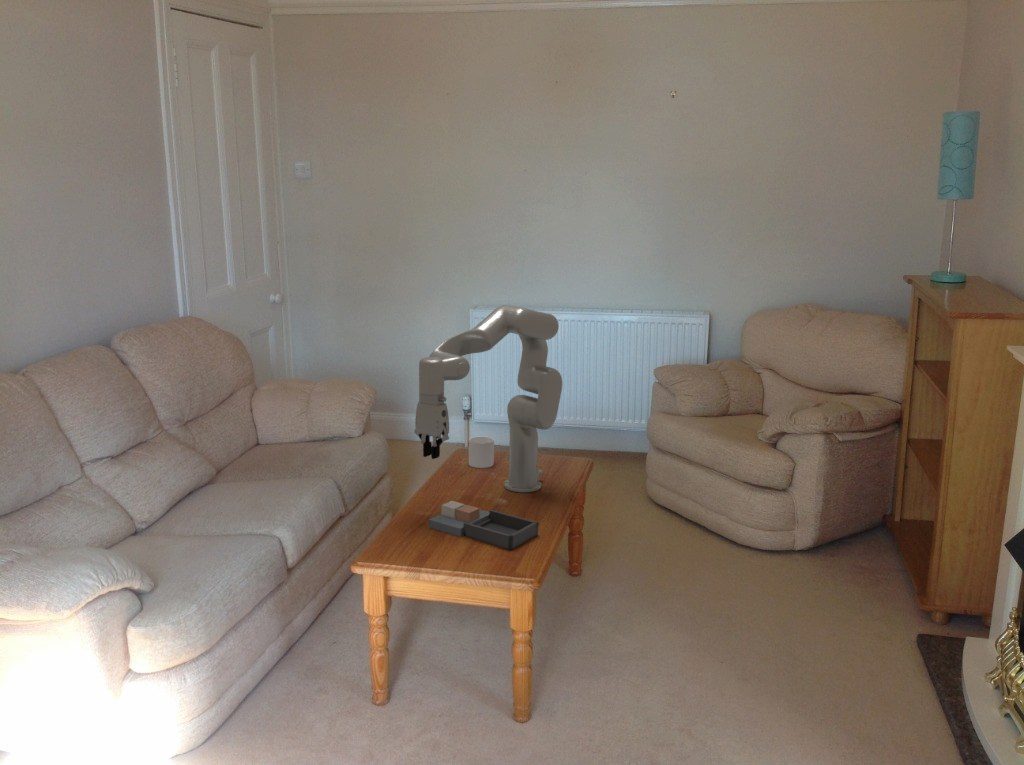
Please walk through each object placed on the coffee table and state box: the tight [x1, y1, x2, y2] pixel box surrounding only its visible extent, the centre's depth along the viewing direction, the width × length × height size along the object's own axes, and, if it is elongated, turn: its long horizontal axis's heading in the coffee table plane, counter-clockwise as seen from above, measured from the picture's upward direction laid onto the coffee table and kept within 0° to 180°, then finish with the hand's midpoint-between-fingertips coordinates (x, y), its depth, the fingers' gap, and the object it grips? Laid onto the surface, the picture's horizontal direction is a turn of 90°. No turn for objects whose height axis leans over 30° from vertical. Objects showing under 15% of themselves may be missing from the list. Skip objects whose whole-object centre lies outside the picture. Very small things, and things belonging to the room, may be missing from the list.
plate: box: [428, 509, 489, 537], centre depth 292 cm, size 16×12×2 cm
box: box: [462, 509, 539, 551], centre depth 283 cm, size 14×17×4 cm
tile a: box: [440, 500, 466, 518], centre depth 293 cm, size 5×5×3 cm
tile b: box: [456, 504, 481, 522], centre depth 290 cm, size 5×5×3 cm
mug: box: [468, 435, 495, 469], centre depth 349 cm, size 12×9×9 cm
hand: (431, 456), depth 294 cm, fingers open, 2 cm apart
